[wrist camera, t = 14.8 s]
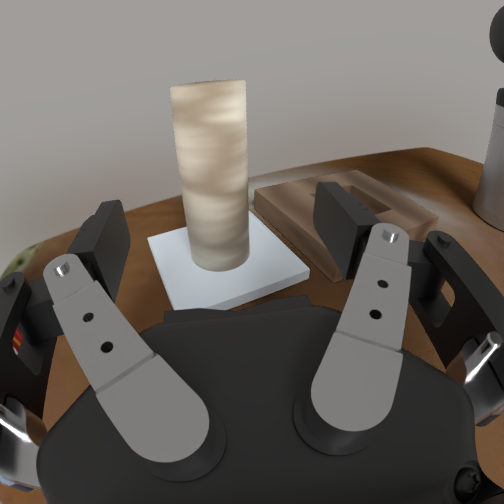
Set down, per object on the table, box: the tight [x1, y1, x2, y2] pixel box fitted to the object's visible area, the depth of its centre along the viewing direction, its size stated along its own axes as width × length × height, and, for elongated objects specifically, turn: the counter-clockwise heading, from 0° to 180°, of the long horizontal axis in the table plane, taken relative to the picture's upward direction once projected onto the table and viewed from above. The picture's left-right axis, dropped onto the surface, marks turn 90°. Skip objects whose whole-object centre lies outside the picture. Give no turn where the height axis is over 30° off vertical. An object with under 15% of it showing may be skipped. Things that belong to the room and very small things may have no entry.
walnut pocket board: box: [255, 170, 438, 283], centre depth 31 cm, size 16×14×2 cm
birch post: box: [170, 80, 250, 272], centre depth 21 cm, size 5×5×14 cm
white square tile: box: [148, 211, 310, 310], centre depth 26 cm, size 11×11×1 cm
